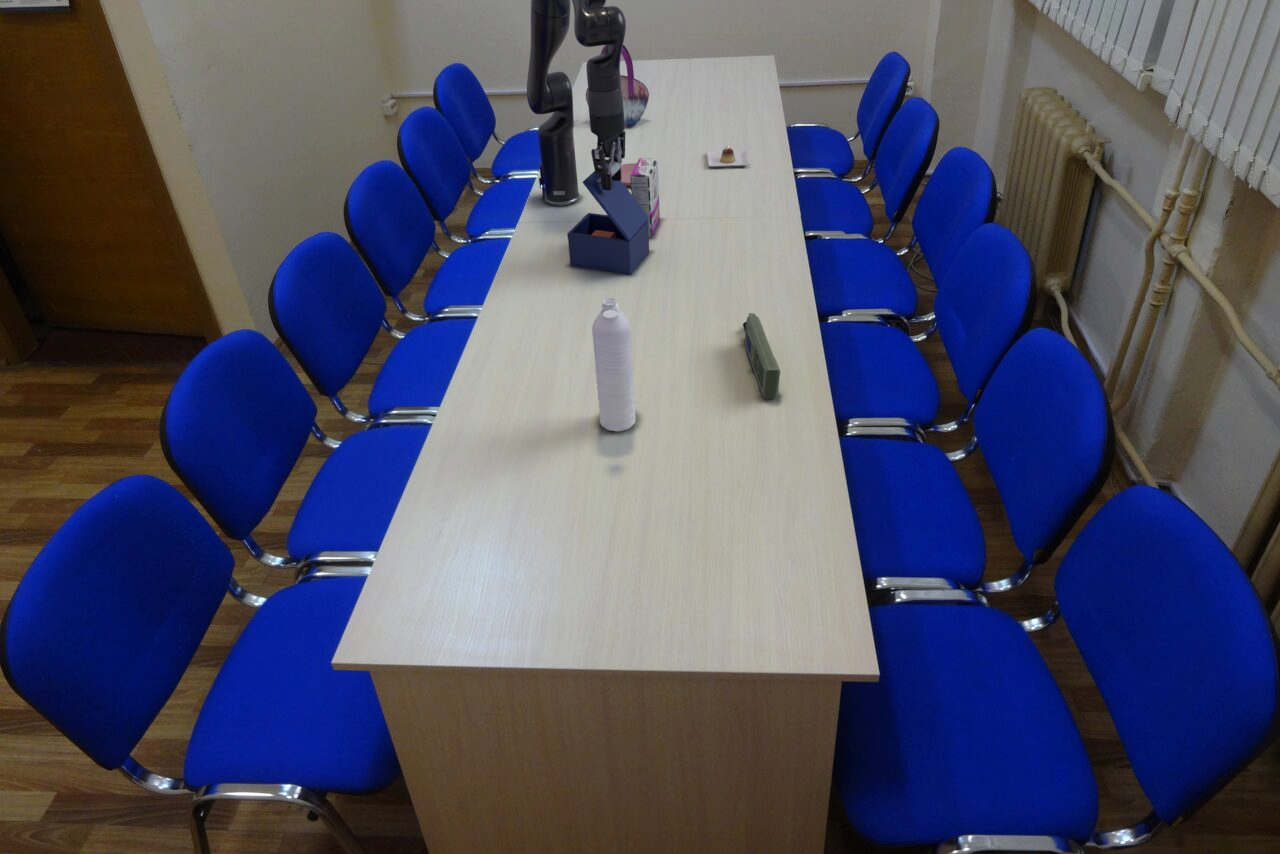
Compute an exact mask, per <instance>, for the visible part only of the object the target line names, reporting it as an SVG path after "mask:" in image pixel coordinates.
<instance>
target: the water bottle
mask: <svg viewBox="0 0 1280 854" xmlns="http://www.w3.org/2000/svg"><path fill="white" fill-rule="evenodd" d="M591 327H592V328H591V332H592V340H593V342H592V343H593V352H594V354H593V355H594V363H595V364H594V365H595V366H594V367H595V375H596V378H595V379H596V390H597V401H598V411H599V413H598V414H599V422H600V425H601V427H603V428H604V429H605V430H607V431H611V432H613V431H614V432H623V431H626V430H628V429H630V428H632V426H634V424H635V423H636V409H635V408H636V402H635V385H634V365H633V351H632V329H631V328H632V327H631V323H630V321H629V319H628V317H627V316H626V315H625V314H624V313H623V312H622V311H621V310H620V309H619V304H618V303H617V300H616V298H613V297H608V298H605V299H603V300H602V304H601V310H600V311H599V313H598V315H597V316H596V317H595V319H594V321H593V323H592V326H591Z"/></svg>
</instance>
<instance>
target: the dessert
mask: <svg viewBox="0 0 1280 854" xmlns="http://www.w3.org/2000/svg"><path fill="white" fill-rule="evenodd" d="M706 157H707V158H706V159H707V164H708V165H707V166H708V167H711V168H735V167H737V168H738V167H739V168H740V167H746V166H749V165H751V163H750V159H749V158H750V157H749V154H748V151H747V149H732V148H731V147H730V146H729V145H728V144H727V145H725V147H724V149H722V150H706Z"/></svg>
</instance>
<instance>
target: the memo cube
mask: <svg viewBox="0 0 1280 854" xmlns="http://www.w3.org/2000/svg"><path fill="white" fill-rule="evenodd" d="M591 235H593V236H600V237H607V238H614V239H615V233H614V232H607V231H599V230H595V231H594V232H593V233H592V234H591Z"/></svg>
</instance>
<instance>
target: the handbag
mask: <svg viewBox="0 0 1280 854" xmlns="http://www.w3.org/2000/svg"><path fill="white" fill-rule="evenodd" d="M606 47H607V45H603V48H602V49H601V51H600V54H602V53H603V52H604V51H605V49H606ZM630 54H631V53H630V51H629V50H628V48H627V47H626V45H625V44H623V46H622V52H621V57H622V58H623V59H624V63H625V65H626V74H627V75H623V74H620V79H621V90H622V95H623V107H624V123H625V129H626V128H632V127H634V126H636V125H637V123H638V122H640V120H641V118H642V117H643V115H644V113H645V111H646V108H647V105H648V103H649V98H650V93H649V89H648V87H647V86H646V85H645V84H644V83H643V82H641V81H640V80H639V79H636V78H635V73H634V64H633V63H634V62H633V60H632V57H631V55H630ZM585 101H586V104H587V107H588V108H589V106H588V87H587V89H586V90H585ZM587 113H588V114H589V111H587V112H586V113H585V115H587Z"/></svg>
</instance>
